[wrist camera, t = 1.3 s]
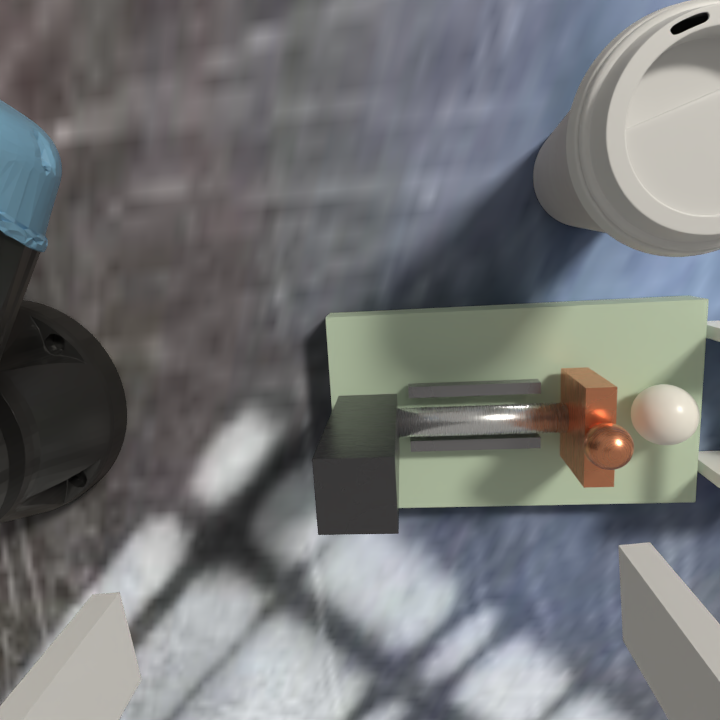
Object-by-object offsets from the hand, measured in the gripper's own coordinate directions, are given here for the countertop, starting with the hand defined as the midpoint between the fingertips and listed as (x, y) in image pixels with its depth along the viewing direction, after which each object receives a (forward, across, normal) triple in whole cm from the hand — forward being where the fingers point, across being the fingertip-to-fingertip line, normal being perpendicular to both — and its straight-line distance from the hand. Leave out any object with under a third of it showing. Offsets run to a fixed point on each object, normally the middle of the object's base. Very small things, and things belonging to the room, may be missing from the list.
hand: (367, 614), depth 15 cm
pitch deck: (+24, +8, -2) cm, 26 cm away
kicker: (+21, +5, -2) cm, 22 cm away
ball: (+20, +17, -3) cm, 26 cm away
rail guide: (+22, +6, -2) cm, 23 cm away
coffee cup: (+24, +14, +12) cm, 31 cm away
